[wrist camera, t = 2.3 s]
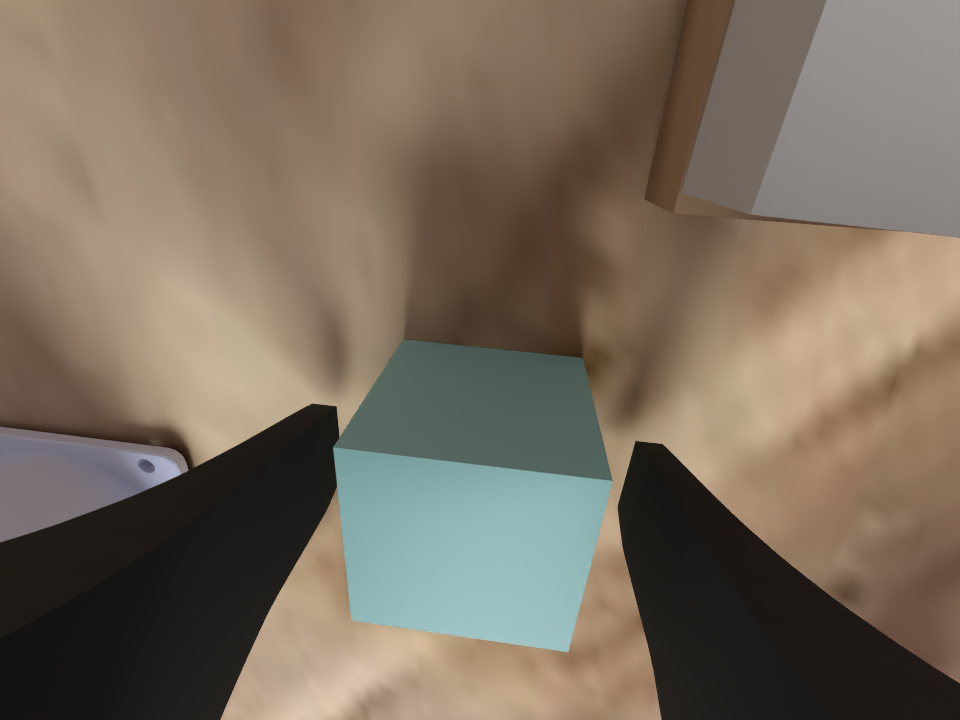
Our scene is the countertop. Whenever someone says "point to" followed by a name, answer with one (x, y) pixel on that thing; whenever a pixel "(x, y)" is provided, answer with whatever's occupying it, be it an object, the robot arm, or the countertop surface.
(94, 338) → the countertop surface
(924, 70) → the grey tile
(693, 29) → the walnut tile
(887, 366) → the countertop surface
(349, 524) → the teal cube
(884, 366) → the countertop surface
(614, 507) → the countertop surface
